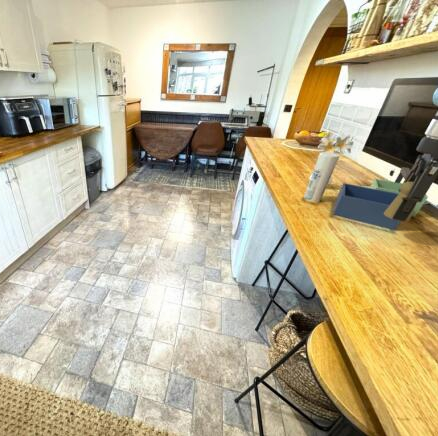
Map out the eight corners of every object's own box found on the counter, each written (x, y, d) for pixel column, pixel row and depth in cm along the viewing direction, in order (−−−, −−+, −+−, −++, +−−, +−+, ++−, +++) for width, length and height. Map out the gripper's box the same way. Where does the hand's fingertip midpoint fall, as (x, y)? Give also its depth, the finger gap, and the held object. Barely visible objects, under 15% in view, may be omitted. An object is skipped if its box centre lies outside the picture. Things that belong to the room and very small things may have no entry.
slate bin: (388, 214, 93) (401, 194, 88) (393, 232, 82) (407, 209, 78) (334, 202, 102) (343, 183, 97) (332, 216, 91) (342, 195, 87)
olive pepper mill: (388, 219, 72) (408, 185, 67) (380, 210, 77) (397, 178, 72) (414, 222, 71) (436, 188, 65) (403, 213, 75) (423, 180, 70)
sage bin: (408, 206, 99) (430, 171, 91) (413, 218, 90) (439, 180, 83) (364, 197, 106) (382, 164, 99) (365, 207, 98) (384, 171, 90)
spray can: (300, 196, 107) (317, 151, 97) (316, 197, 106) (334, 152, 96) (306, 202, 101) (324, 155, 91) (322, 204, 100) (343, 157, 90)
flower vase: (301, 189, 114) (320, 134, 101) (305, 178, 127) (324, 128, 114) (333, 196, 107) (359, 139, 94) (335, 184, 120) (358, 132, 107)
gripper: (479, 147, 53) (419, 232, 65) (454, 133, 67) (408, 207, 78) (431, 142, 57) (383, 224, 69) (417, 130, 71) (379, 201, 82)
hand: (397, 215), depth 74 cm, fingers closed on olive pepper mill, 6 cm apart
